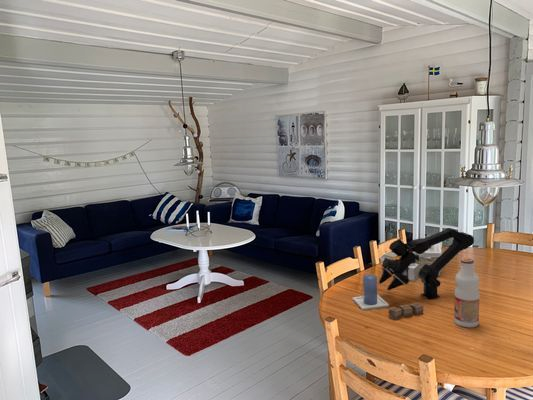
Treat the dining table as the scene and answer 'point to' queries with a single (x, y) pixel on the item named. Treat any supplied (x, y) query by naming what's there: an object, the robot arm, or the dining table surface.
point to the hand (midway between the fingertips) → (383, 286)
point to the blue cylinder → (370, 289)
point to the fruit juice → (466, 295)
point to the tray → (363, 306)
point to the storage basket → (429, 256)
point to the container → (412, 271)
